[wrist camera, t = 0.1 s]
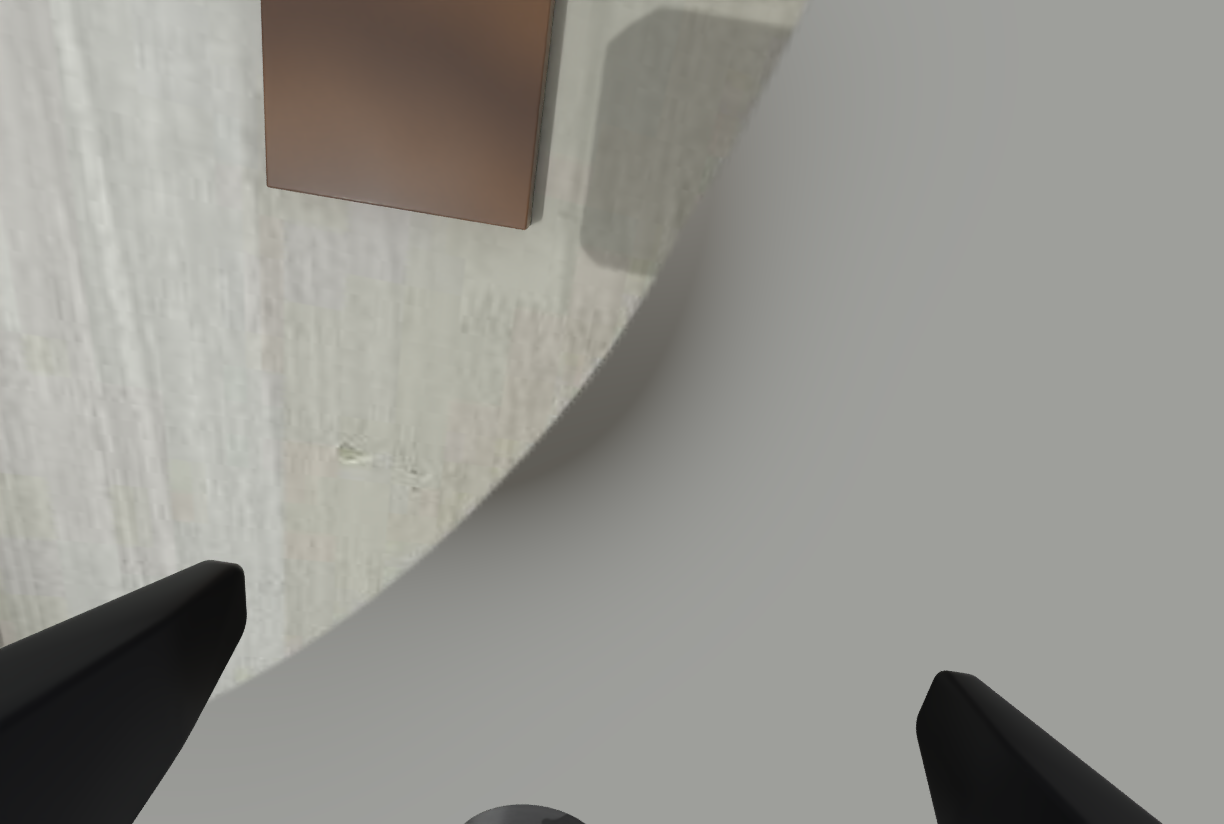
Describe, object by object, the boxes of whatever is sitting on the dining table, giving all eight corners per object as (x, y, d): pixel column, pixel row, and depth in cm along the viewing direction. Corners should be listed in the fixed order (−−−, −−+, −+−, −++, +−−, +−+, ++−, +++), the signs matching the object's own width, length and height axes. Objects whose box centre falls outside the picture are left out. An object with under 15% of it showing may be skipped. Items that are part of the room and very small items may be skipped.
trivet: (530, 226, 19) (525, 230, 19) (280, 184, 19) (265, 187, 18) (562, -67, 17) (559, -77, 16) (272, -120, 16) (255, -131, 16)
